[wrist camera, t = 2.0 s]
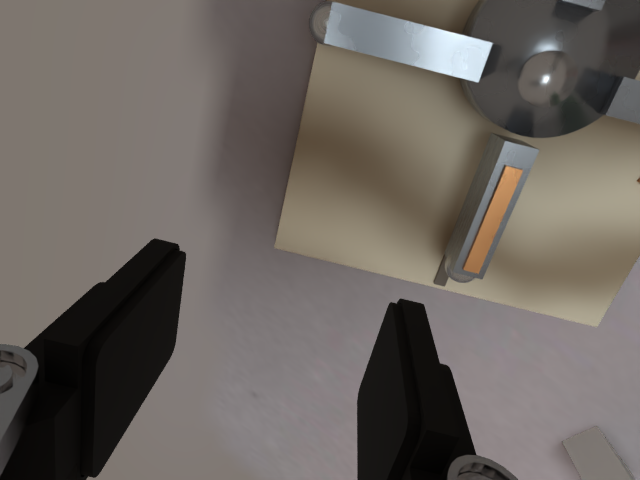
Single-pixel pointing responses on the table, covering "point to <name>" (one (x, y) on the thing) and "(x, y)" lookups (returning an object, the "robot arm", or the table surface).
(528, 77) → the cross spoke hub board
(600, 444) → the white stepped block
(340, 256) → the stand
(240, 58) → the table surface
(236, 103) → the table surface
